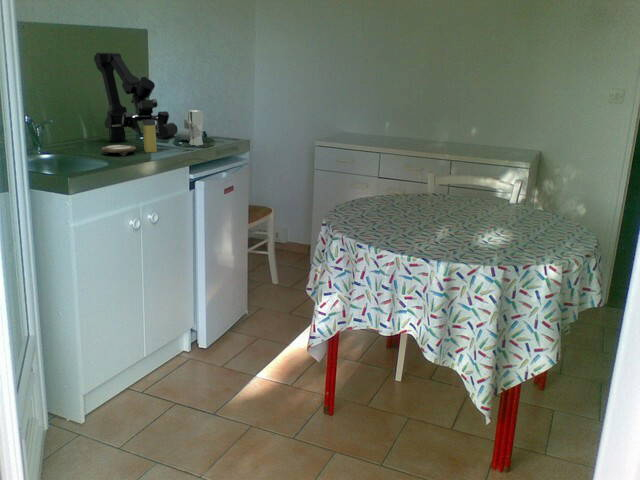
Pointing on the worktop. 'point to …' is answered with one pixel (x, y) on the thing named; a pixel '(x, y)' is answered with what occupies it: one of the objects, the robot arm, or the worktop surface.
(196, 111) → the beer glass
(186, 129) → the air freshener
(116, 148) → the levelling base
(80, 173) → the worktop surface
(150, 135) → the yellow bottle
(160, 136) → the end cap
